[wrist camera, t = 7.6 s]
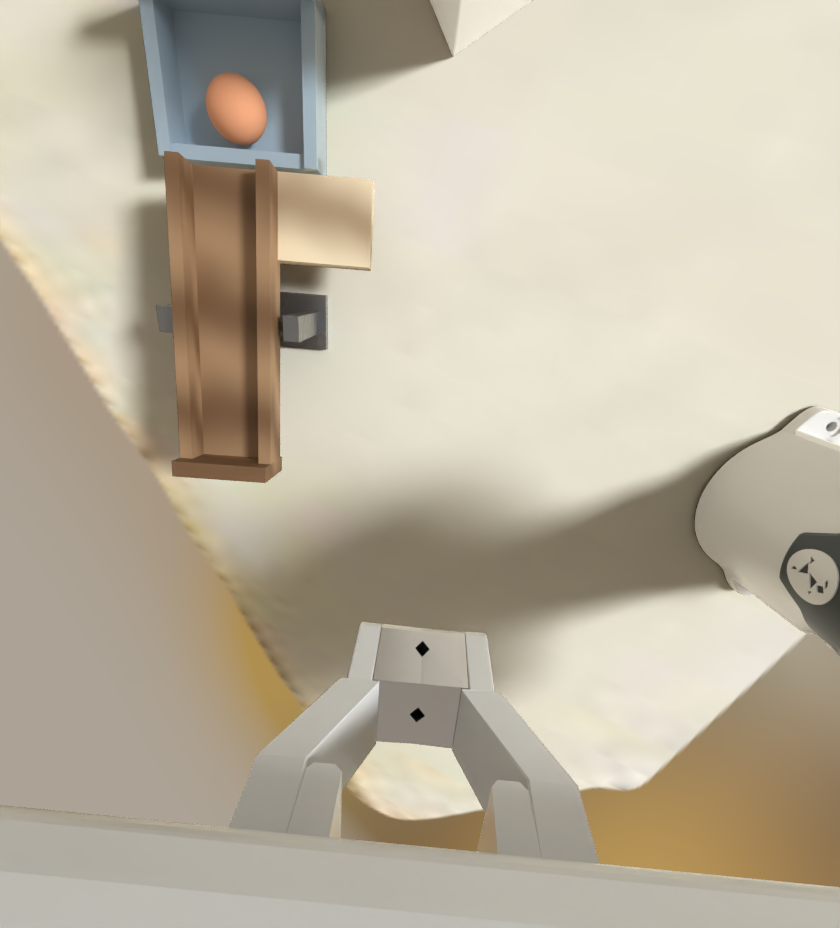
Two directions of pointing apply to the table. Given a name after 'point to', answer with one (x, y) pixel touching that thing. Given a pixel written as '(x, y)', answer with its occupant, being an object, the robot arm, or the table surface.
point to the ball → (236, 108)
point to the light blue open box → (250, 55)
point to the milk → (472, 18)
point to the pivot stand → (285, 320)
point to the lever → (245, 298)
